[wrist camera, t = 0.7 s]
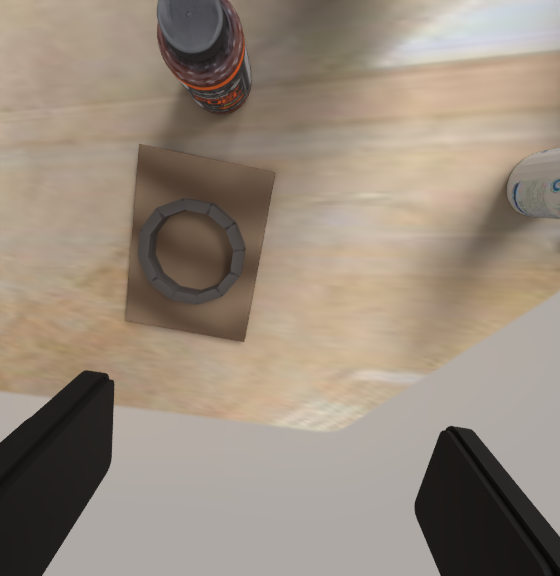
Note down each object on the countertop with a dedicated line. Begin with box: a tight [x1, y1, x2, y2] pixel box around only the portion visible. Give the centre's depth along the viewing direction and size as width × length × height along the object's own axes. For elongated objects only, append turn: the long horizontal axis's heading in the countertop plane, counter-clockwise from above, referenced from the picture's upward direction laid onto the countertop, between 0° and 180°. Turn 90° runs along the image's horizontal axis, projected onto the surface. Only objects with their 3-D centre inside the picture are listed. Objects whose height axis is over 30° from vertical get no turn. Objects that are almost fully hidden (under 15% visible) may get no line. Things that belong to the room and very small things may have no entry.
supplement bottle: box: [157, 0, 252, 114], centre depth 25 cm, size 6×6×11 cm
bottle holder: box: [126, 144, 275, 342], centre depth 33 cm, size 18×13×3 cm
